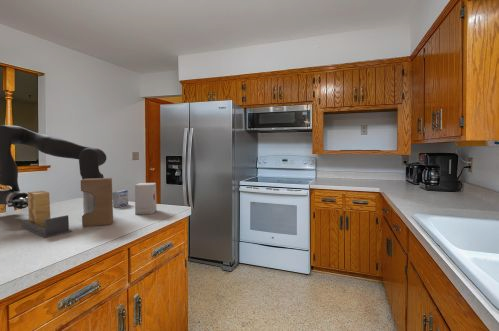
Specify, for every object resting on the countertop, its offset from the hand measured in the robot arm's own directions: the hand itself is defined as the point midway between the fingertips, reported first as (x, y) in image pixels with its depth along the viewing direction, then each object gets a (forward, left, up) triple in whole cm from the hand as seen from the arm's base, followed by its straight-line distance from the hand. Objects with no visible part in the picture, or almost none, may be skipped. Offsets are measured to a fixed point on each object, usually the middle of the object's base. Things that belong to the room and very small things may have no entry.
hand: (32, 203), depth 119 cm
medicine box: (-35, -26, -9) cm, 45 cm away
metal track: (-7, +12, -9) cm, 16 cm away
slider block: (-4, +7, -8) cm, 11 cm away
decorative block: (-26, +13, -9) cm, 30 cm away
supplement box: (-47, -2, -9) cm, 48 cm away
